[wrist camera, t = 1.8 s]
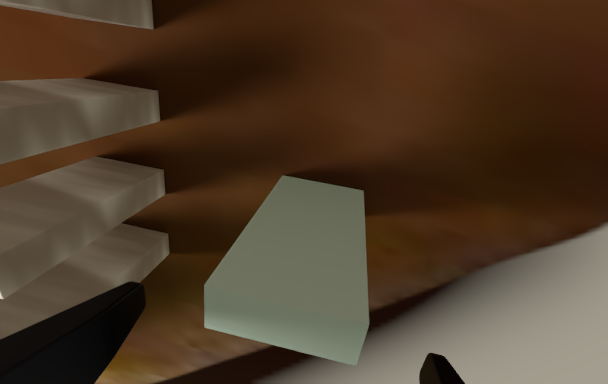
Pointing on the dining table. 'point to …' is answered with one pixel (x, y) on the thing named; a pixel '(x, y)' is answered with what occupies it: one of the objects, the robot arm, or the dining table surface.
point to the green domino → (297, 273)
